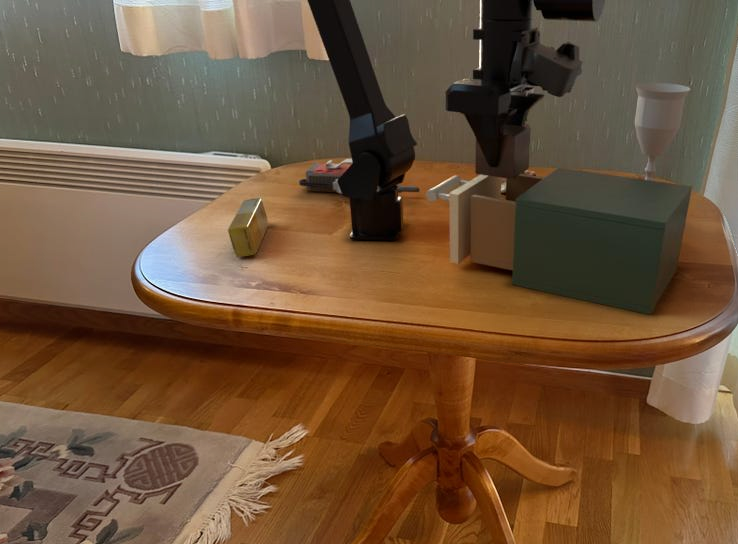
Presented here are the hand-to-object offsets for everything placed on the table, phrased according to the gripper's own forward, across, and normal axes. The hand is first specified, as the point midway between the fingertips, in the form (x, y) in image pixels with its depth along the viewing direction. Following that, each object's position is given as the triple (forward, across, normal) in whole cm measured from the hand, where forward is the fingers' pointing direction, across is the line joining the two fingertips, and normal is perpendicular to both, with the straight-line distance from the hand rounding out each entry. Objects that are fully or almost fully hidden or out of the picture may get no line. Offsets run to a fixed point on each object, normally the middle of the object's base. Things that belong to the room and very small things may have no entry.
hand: (502, 161), depth 82 cm
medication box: (+12, -11, +32) cm, 36 cm away
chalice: (+12, +23, -14) cm, 30 cm away
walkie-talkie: (+12, +15, +31) cm, 36 cm away
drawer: (+11, -1, -2) cm, 11 cm away
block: (+1, 0, 0) cm, 1 cm away
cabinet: (+12, -1, -14) cm, 18 cm away
